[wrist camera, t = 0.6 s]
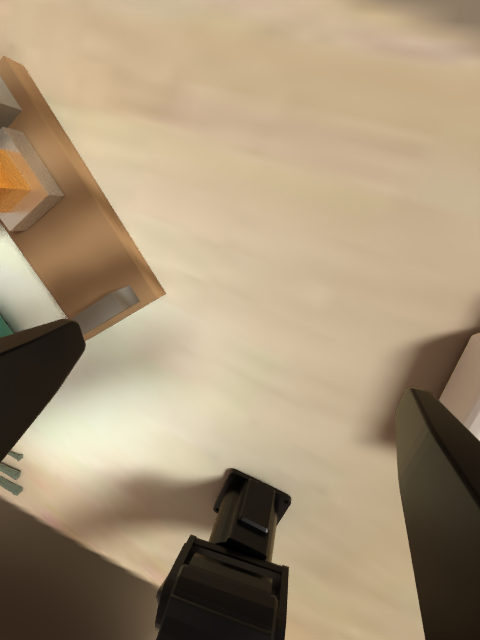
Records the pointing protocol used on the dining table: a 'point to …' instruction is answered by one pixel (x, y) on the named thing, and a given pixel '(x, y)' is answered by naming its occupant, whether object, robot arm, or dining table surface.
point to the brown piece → (74, 221)
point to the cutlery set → (3, 330)
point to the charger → (465, 388)
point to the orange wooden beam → (23, 182)
